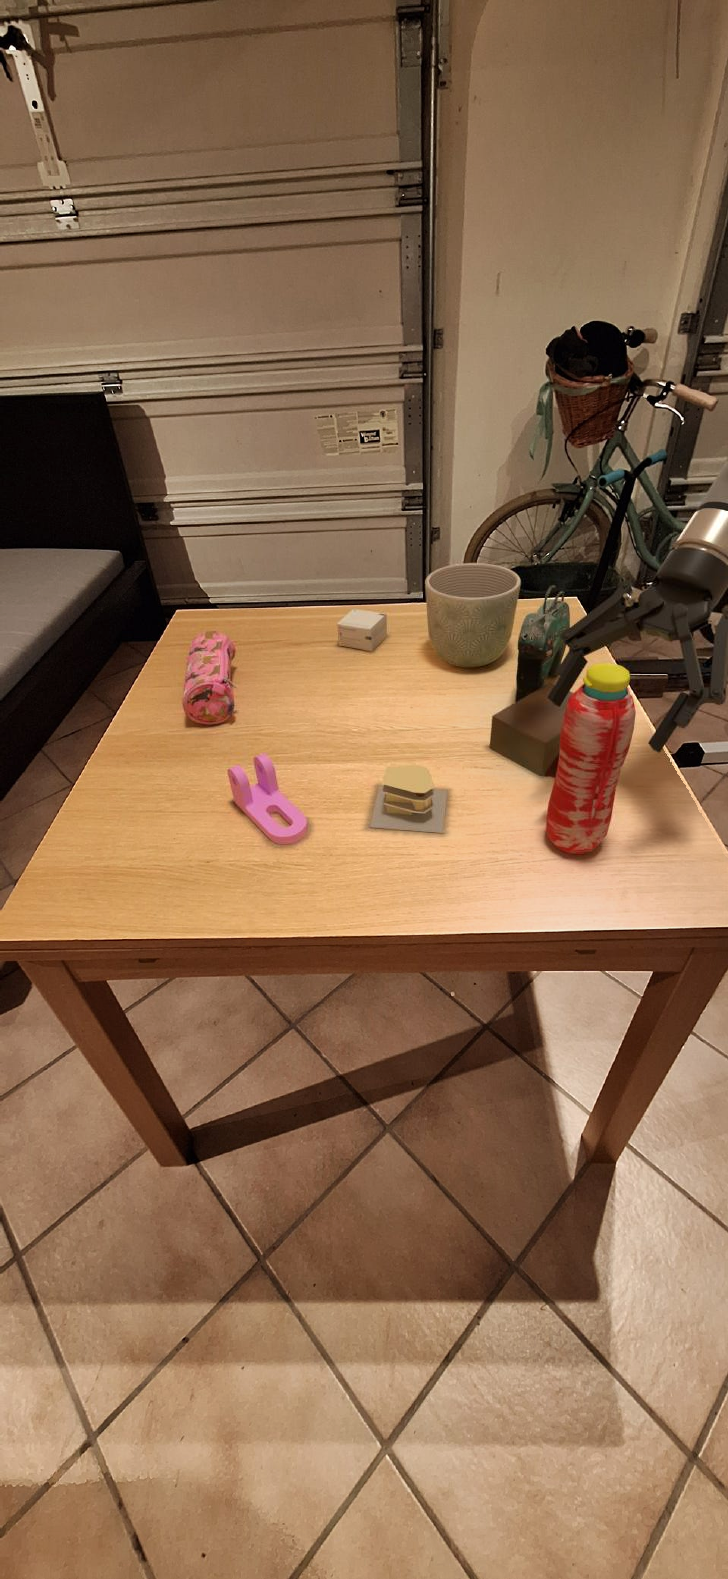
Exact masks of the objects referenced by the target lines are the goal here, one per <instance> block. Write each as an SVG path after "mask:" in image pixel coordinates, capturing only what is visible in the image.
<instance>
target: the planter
mask: <svg viewBox="0 0 728 1579" xmlns="http://www.w3.org/2000/svg"><path fill="white" fill-rule="evenodd" d="M521 580H522V579H521V578H520V576H519V575H518V574H517V573H516V572H515V571H513V570H511V569H509V568H506V567H504V566H500V565H496V564H490V563H481V562H466V563H457V564H451V565H447V566H446V565H445V566H443V567H440V568H437V569H436V570H433V571H432V572H431V573H429V574H428V575H427V576H426V578H425V579H424V584H425V585H424V589H425V604H426V620H427V632H428V638H429V642H430V645H431V647H432V650H433V651H434V653H435V654H436V655H437V656H438V657H439V658H440V659H441V660H442V661H444V662H445V663H447V664H450V665H452V666H455V667H460V668H479V667H483V666H486V665H488V664H491V663H493V662H494V661H496V660H498V659H499V658H500V656H502V655H503V654H504V652H505V651H506V650H507V647H508V646H509V643H510V641H511V639H512V633H513V629H514V623H515V618H516V612H517V607H518V602H519V595H520V590H521V585H522V581H521Z"/></svg>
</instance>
